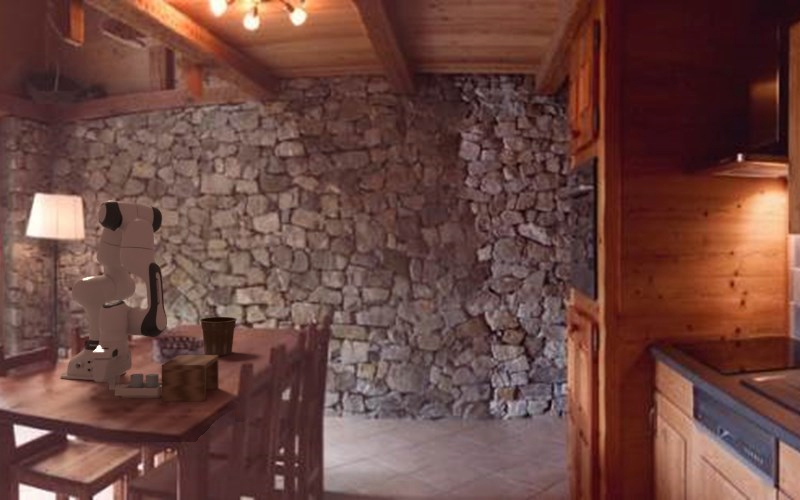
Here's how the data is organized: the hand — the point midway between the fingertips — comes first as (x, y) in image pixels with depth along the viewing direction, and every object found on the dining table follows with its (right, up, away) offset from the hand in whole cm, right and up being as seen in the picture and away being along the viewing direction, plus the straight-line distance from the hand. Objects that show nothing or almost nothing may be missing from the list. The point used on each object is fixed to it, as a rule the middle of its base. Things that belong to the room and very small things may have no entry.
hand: (113, 388), depth 195 cm
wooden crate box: (+26, -2, +1) cm, 26 cm away
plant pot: (+14, -1, +69) cm, 70 cm away
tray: (+10, -2, 0) cm, 11 cm away
